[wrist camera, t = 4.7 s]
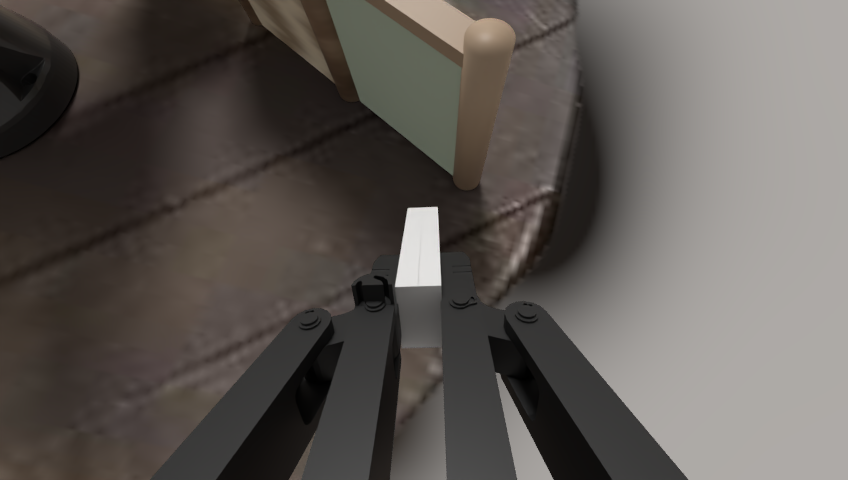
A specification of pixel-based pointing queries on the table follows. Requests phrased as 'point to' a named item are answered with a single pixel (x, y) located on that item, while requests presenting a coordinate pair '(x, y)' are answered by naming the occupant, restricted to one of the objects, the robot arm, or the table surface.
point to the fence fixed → (307, 36)
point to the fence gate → (429, 75)
